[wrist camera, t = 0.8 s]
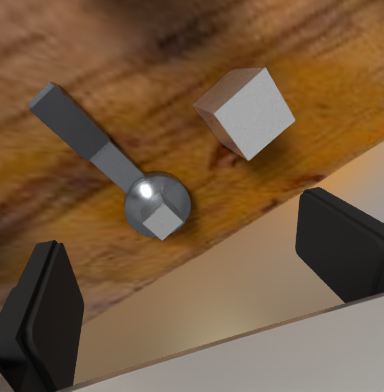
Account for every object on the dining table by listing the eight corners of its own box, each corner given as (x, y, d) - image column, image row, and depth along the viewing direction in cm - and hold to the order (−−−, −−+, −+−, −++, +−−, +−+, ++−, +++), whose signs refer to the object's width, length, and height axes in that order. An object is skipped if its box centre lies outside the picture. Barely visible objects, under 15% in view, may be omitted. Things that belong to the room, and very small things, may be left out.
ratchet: (71, 64, 27) (60, 62, 22) (198, 200, 37) (212, 221, 31) (14, 119, 28) (-10, 129, 22) (154, 238, 37) (160, 265, 32)
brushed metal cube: (231, 69, 31) (265, 67, 24) (257, 110, 34) (295, 120, 27) (191, 105, 32) (213, 113, 24) (221, 143, 34) (248, 161, 27)
